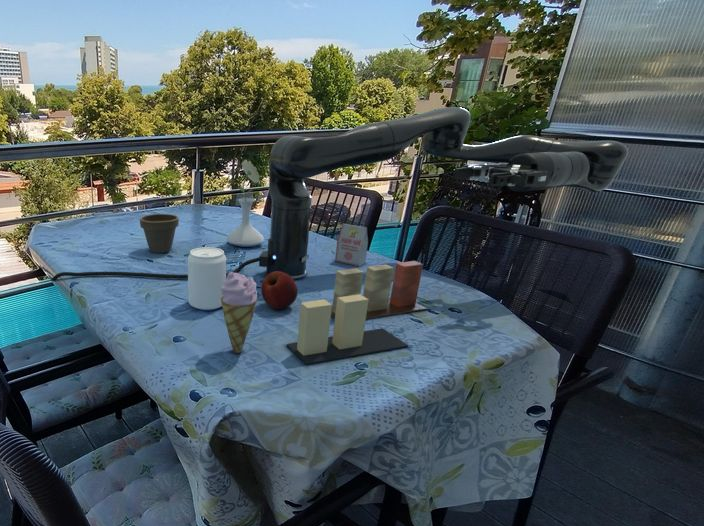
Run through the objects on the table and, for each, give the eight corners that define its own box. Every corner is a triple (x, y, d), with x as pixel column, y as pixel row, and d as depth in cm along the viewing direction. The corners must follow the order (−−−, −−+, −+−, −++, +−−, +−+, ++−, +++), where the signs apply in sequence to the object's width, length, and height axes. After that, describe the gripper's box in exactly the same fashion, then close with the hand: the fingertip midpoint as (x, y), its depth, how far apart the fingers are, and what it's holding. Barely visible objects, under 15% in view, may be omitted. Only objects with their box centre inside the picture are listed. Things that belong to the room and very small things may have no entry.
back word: (341, 323, 92) (346, 278, 88) (322, 309, 98) (326, 267, 94) (426, 310, 96) (435, 267, 92) (403, 297, 102) (410, 256, 99)
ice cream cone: (217, 342, 86) (217, 265, 80) (250, 340, 86) (253, 263, 80) (223, 360, 80) (224, 279, 74) (259, 358, 80) (263, 276, 74)
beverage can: (229, 299, 104) (230, 247, 100) (220, 313, 97) (221, 259, 93) (194, 295, 107) (194, 245, 102) (183, 309, 100) (182, 256, 95)
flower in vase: (266, 249, 138) (270, 162, 128) (228, 250, 138) (229, 163, 129) (259, 237, 150) (263, 157, 140) (224, 238, 150) (225, 158, 141)
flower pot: (157, 242, 148) (156, 211, 144) (186, 248, 142) (186, 215, 138) (133, 252, 139) (131, 219, 135) (163, 258, 133) (162, 223, 129)
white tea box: (341, 257, 129) (345, 222, 125) (365, 262, 124) (370, 226, 120) (335, 260, 127) (338, 225, 123) (358, 266, 122) (363, 229, 118)
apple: (253, 303, 102) (254, 269, 98) (282, 297, 104) (285, 263, 101) (272, 316, 95) (274, 280, 92) (303, 309, 98) (306, 274, 95)
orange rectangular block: (397, 307, 97) (404, 266, 93) (389, 303, 99) (396, 262, 95) (415, 304, 98) (423, 264, 94) (407, 300, 100) (414, 260, 96)
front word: (306, 365, 78) (310, 314, 74) (286, 345, 84) (289, 298, 80) (407, 347, 82) (417, 298, 79) (382, 330, 88) (389, 284, 85)
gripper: (510, 149, 100) (447, 153, 96) (578, 155, 87) (509, 161, 83) (501, 184, 103) (440, 190, 99) (566, 196, 90) (499, 202, 86)
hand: (472, 176), depth 91 cm, fingers open, 8 cm apart
